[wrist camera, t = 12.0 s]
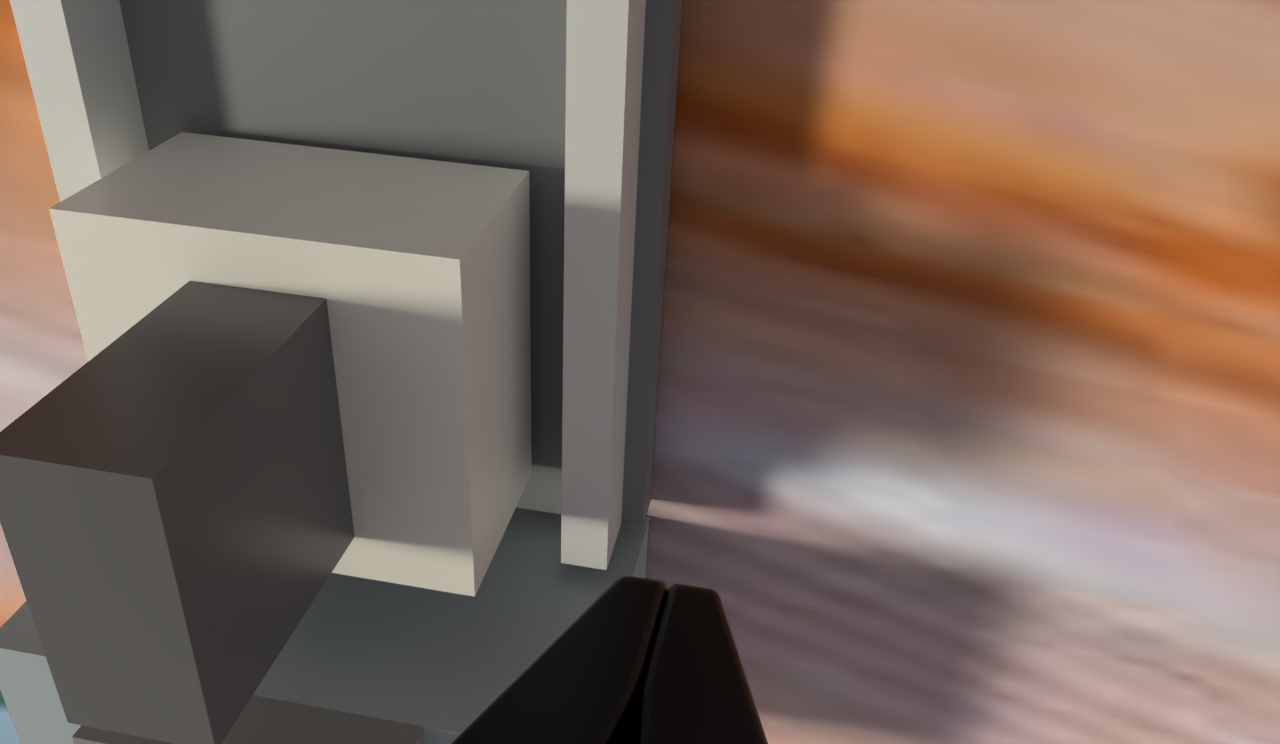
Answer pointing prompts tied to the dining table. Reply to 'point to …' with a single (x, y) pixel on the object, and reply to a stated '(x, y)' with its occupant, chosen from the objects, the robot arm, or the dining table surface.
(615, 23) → the rail track
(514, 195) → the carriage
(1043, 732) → the dining table surface
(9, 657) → the cabinet
